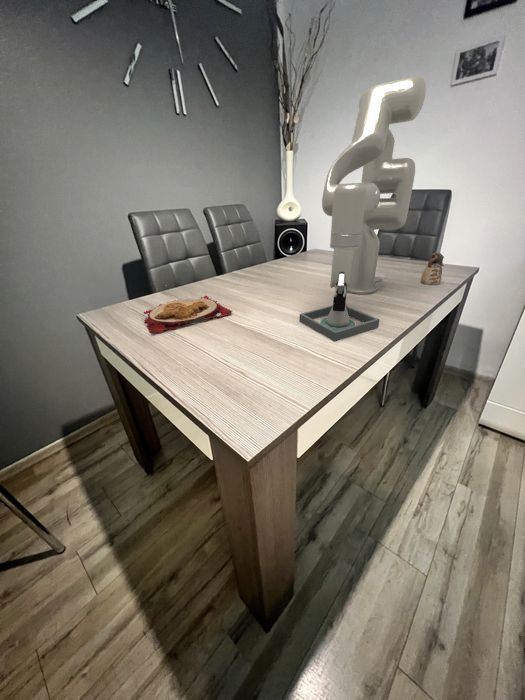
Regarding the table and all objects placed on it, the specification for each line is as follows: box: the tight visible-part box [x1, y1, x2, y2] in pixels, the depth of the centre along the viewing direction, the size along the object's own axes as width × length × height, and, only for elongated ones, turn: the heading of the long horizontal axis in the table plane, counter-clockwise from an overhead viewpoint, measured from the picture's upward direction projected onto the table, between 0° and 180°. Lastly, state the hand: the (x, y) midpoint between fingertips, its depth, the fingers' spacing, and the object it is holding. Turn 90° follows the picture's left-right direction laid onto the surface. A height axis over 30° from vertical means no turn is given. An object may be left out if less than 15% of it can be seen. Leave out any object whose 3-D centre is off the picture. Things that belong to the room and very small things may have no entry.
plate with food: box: [143, 295, 233, 334], centre depth 94 cm, size 25×26×4 cm
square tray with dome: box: [298, 304, 380, 342], centre depth 80 cm, size 16×16×2 cm
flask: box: [325, 290, 351, 327], centre depth 78 cm, size 7×7×10 cm
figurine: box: [420, 252, 445, 286], centre depth 109 cm, size 7×7×12 cm
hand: (339, 304), depth 78 cm, fingers open, 9 cm apart
